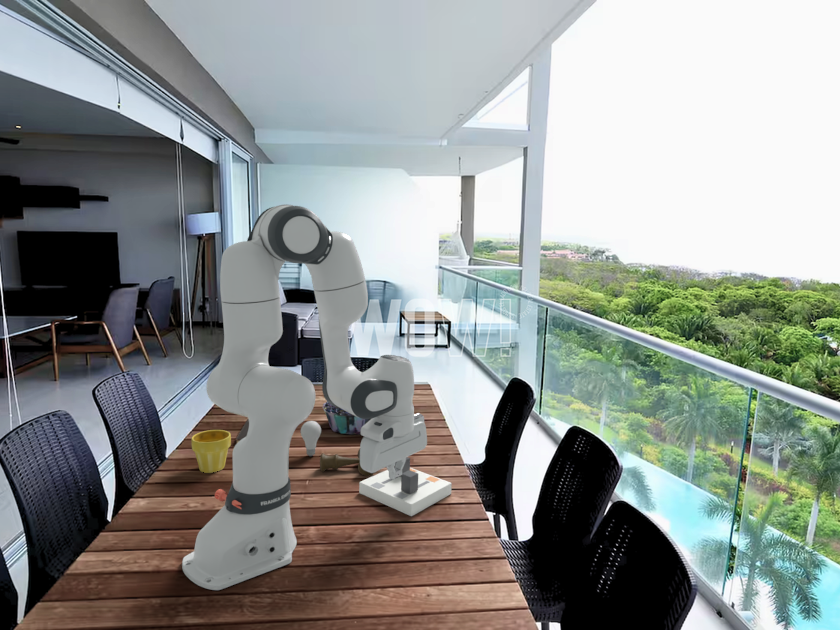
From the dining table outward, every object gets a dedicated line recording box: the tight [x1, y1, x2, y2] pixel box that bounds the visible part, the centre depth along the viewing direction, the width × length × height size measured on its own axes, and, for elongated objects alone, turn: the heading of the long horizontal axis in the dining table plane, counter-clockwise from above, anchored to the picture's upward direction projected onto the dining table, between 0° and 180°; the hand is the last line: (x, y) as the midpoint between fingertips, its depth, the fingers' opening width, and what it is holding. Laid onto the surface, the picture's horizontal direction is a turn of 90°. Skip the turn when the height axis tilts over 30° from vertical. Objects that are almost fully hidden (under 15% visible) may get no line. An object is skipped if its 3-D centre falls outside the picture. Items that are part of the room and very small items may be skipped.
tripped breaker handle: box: [401, 470, 418, 494], centre depth 129 cm, size 3×3×4 cm
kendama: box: [319, 448, 376, 477], centre depth 149 cm, size 6×10×20 cm
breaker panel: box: [358, 467, 452, 517], centre depth 134 cm, size 16×18×3 cm
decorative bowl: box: [322, 401, 371, 435], centre depth 186 cm, size 26×28×10 cm
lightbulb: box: [300, 420, 322, 457], centre depth 157 cm, size 6×6×11 cm
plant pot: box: [191, 429, 232, 474], centre depth 147 cm, size 10×10×10 cm
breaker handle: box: [394, 456, 411, 473], centre depth 139 cm, size 3×3×4 cm
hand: (395, 476), depth 124 cm, fingers closed
